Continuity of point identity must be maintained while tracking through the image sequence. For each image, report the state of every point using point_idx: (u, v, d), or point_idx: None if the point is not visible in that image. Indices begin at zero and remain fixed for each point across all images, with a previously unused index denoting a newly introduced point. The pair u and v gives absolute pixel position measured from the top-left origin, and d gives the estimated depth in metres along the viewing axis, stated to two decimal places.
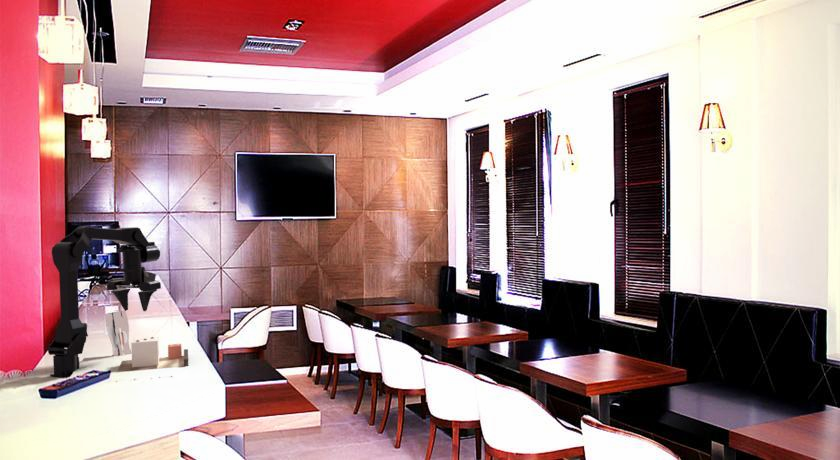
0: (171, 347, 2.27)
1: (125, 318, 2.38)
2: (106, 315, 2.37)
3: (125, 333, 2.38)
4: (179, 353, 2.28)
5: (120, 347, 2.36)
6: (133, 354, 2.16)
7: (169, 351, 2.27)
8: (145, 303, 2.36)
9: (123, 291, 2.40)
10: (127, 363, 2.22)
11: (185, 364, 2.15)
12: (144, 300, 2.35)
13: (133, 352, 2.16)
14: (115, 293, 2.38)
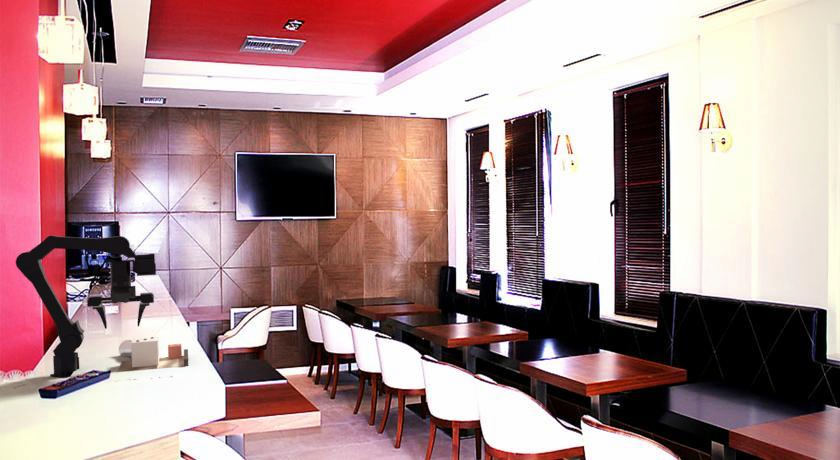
0: (171, 347, 2.27)
1: None
2: None
3: None
4: (179, 353, 2.28)
5: None
6: (133, 354, 2.16)
7: (169, 351, 2.27)
8: None
9: None
10: (127, 363, 2.22)
11: (185, 364, 2.15)
12: None
13: (133, 352, 2.16)
14: None
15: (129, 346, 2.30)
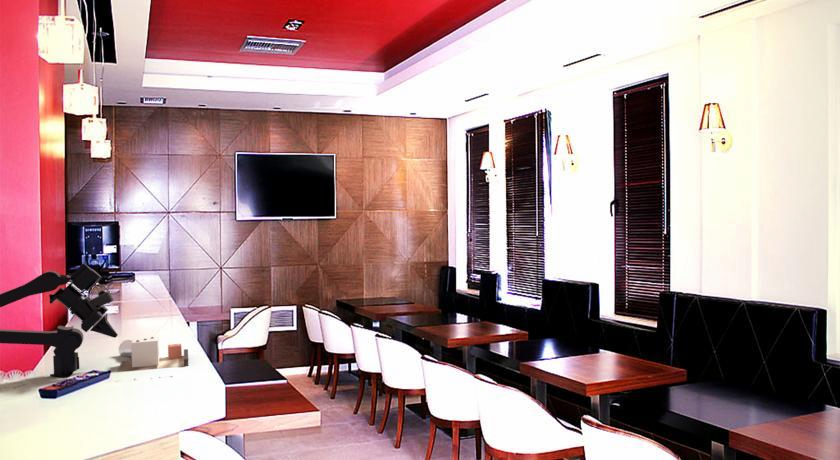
0: (171, 347, 2.27)
1: None
2: None
3: None
4: (179, 353, 2.28)
5: None
6: (133, 354, 2.16)
7: (169, 351, 2.27)
8: (107, 332, 2.16)
9: None
10: (127, 363, 2.22)
11: (185, 364, 2.15)
12: (103, 331, 2.15)
13: (133, 352, 2.16)
14: None
15: (129, 346, 2.30)
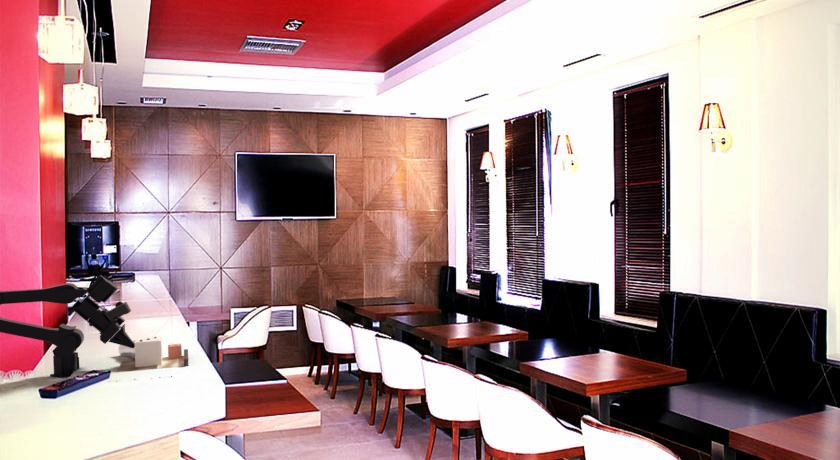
0: (171, 347, 2.27)
1: None
2: None
3: None
4: (179, 353, 2.28)
5: None
6: (136, 354, 2.16)
7: (169, 351, 2.27)
8: (126, 343, 2.17)
9: None
10: (127, 363, 2.22)
11: (185, 364, 2.15)
12: (121, 342, 2.17)
13: (136, 352, 2.16)
14: None
15: None
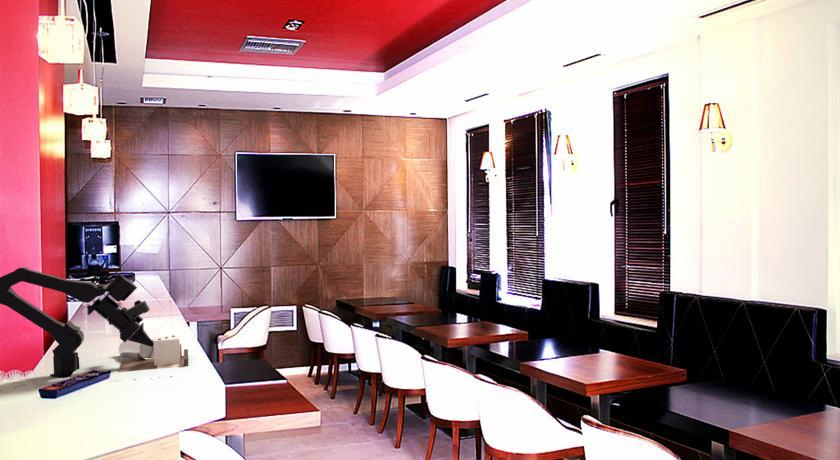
0: None
1: None
2: (138, 349, 2.25)
3: None
4: None
5: None
6: (155, 352, 2.18)
7: None
8: (144, 341, 2.19)
9: None
10: (127, 363, 2.22)
11: (185, 364, 2.15)
12: (140, 341, 2.18)
13: (155, 350, 2.18)
14: None
15: (129, 346, 2.30)
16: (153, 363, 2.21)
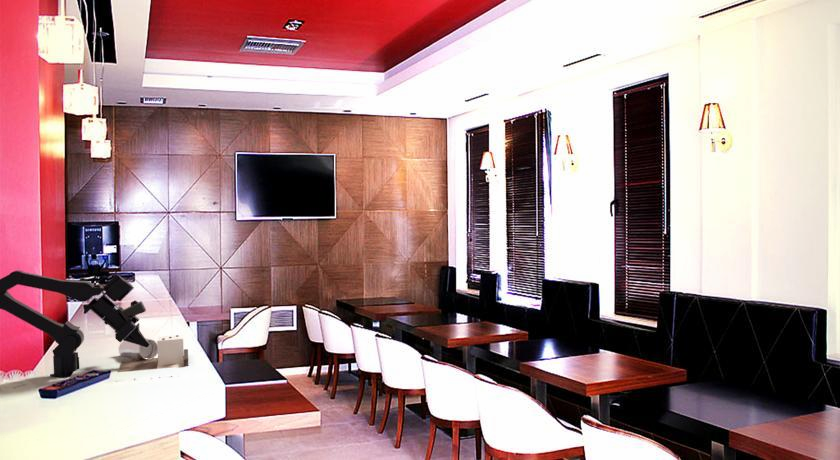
0: None
1: None
2: (138, 349, 2.25)
3: None
4: None
5: None
6: (159, 352, 2.18)
7: None
8: (140, 342, 2.19)
9: None
10: (127, 363, 2.22)
11: (185, 364, 2.15)
12: (135, 341, 2.18)
13: (159, 350, 2.18)
14: None
15: (129, 346, 2.30)
16: (153, 363, 2.21)
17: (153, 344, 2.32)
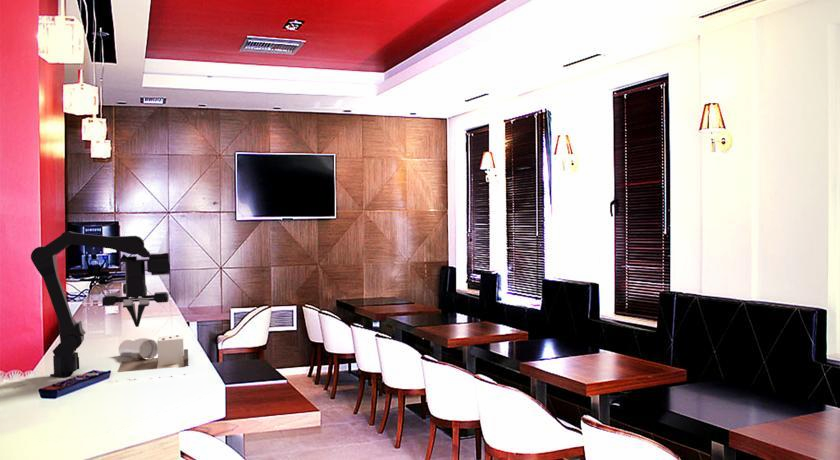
0: None
1: None
2: (138, 349, 2.25)
3: None
4: None
5: None
6: (159, 352, 2.18)
7: None
8: (140, 317, 2.20)
9: (134, 305, 2.19)
10: (127, 363, 2.22)
11: (185, 364, 2.15)
12: (141, 314, 2.19)
13: (159, 350, 2.18)
14: (130, 308, 2.17)
15: (129, 346, 2.30)
16: (153, 363, 2.21)
17: (153, 344, 2.32)
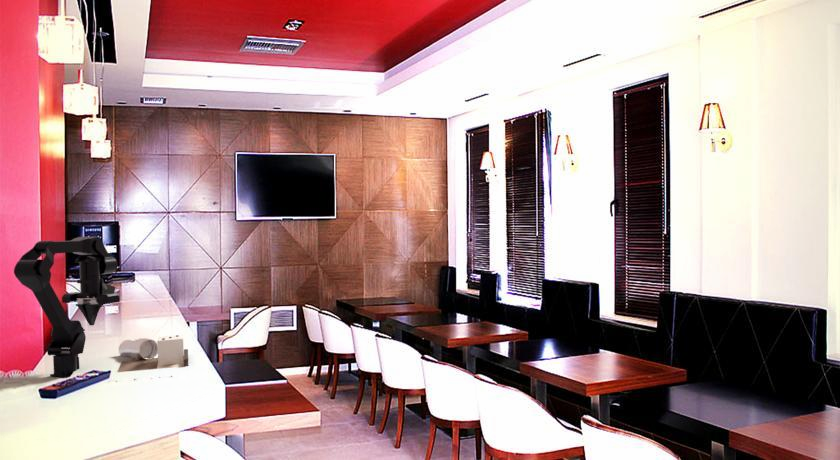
0: None
1: None
2: (138, 349, 2.25)
3: None
4: None
5: None
6: (159, 352, 2.18)
7: None
8: (92, 317, 2.24)
9: None
10: (127, 363, 2.22)
11: (185, 364, 2.15)
12: (91, 313, 2.23)
13: (159, 350, 2.18)
14: (80, 306, 2.23)
15: (129, 346, 2.30)
16: (153, 363, 2.21)
17: (153, 344, 2.32)
